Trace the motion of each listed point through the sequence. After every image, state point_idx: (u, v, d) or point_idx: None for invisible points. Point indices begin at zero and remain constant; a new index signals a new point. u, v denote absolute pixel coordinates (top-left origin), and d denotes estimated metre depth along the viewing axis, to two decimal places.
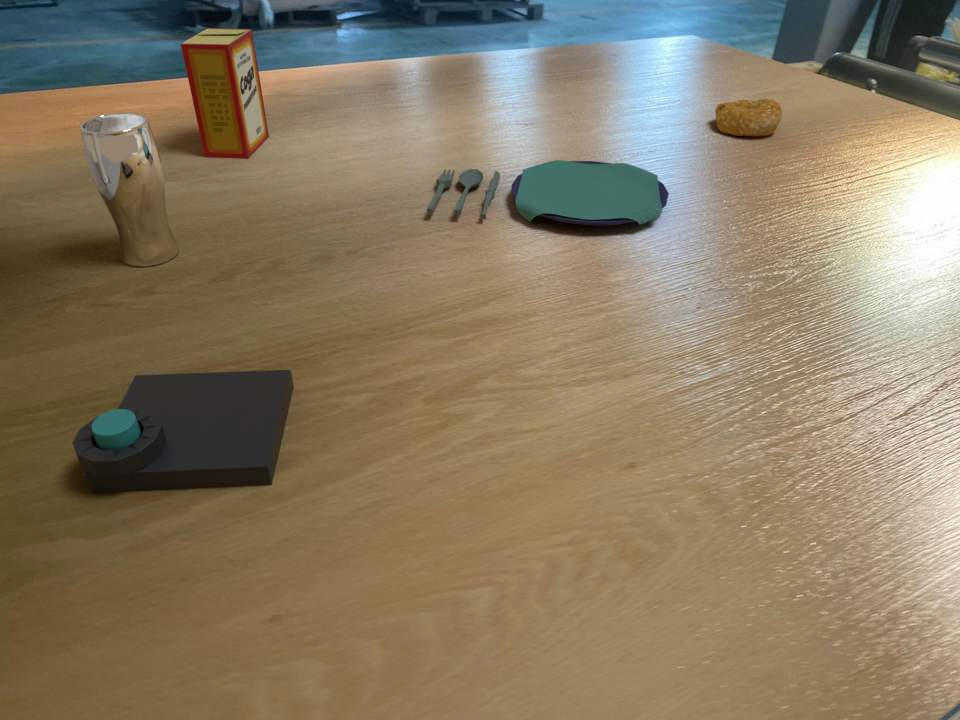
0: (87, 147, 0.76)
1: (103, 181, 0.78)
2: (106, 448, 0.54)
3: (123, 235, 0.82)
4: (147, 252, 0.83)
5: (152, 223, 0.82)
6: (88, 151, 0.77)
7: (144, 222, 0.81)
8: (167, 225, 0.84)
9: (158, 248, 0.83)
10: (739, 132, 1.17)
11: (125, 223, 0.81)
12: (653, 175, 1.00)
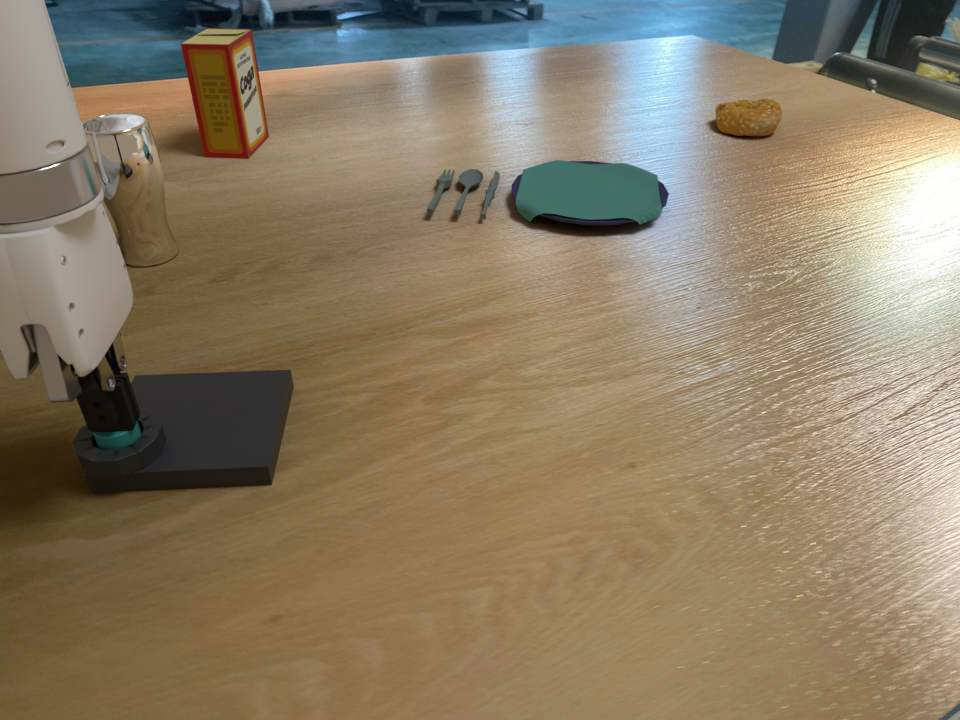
0: None
1: (103, 181, 0.78)
2: None
3: (123, 235, 0.82)
4: (147, 252, 0.83)
5: (152, 223, 0.82)
6: None
7: (144, 222, 0.81)
8: (167, 225, 0.84)
9: (158, 248, 0.83)
10: (739, 132, 1.17)
11: (125, 223, 0.81)
12: (653, 175, 1.00)
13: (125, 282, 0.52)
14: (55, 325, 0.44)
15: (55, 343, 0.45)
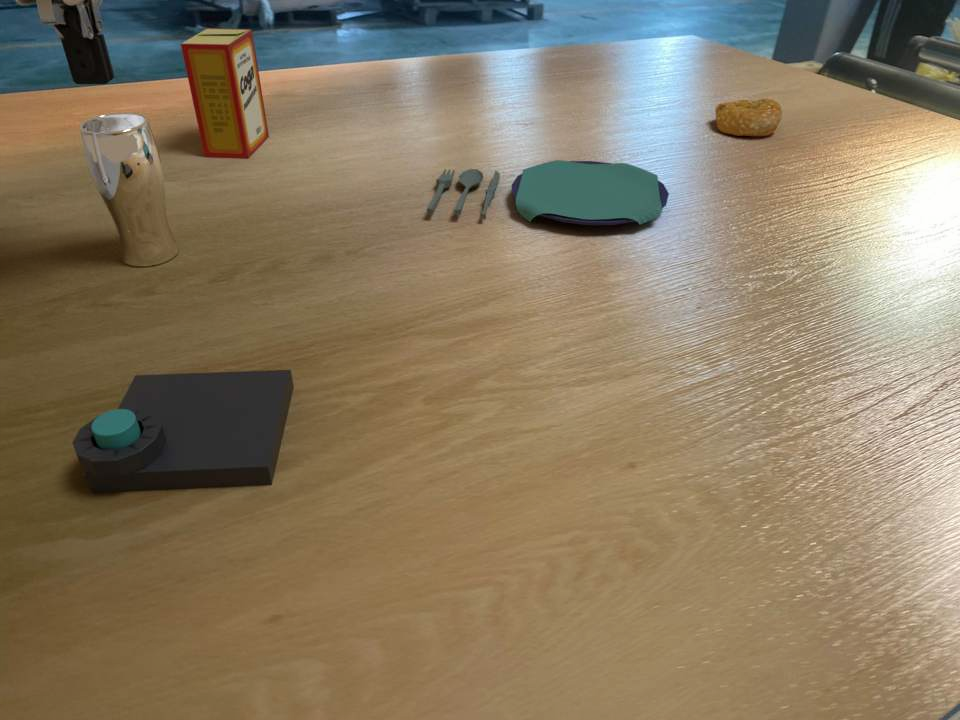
0: (87, 147, 0.76)
1: (103, 181, 0.78)
2: (106, 448, 0.54)
3: (123, 235, 0.82)
4: (147, 252, 0.83)
5: (152, 223, 0.82)
6: (88, 151, 0.76)
7: (144, 222, 0.81)
8: (167, 225, 0.84)
9: (158, 248, 0.83)
10: (739, 132, 1.17)
11: (125, 223, 0.81)
12: (653, 175, 1.00)
13: None
14: None
15: None
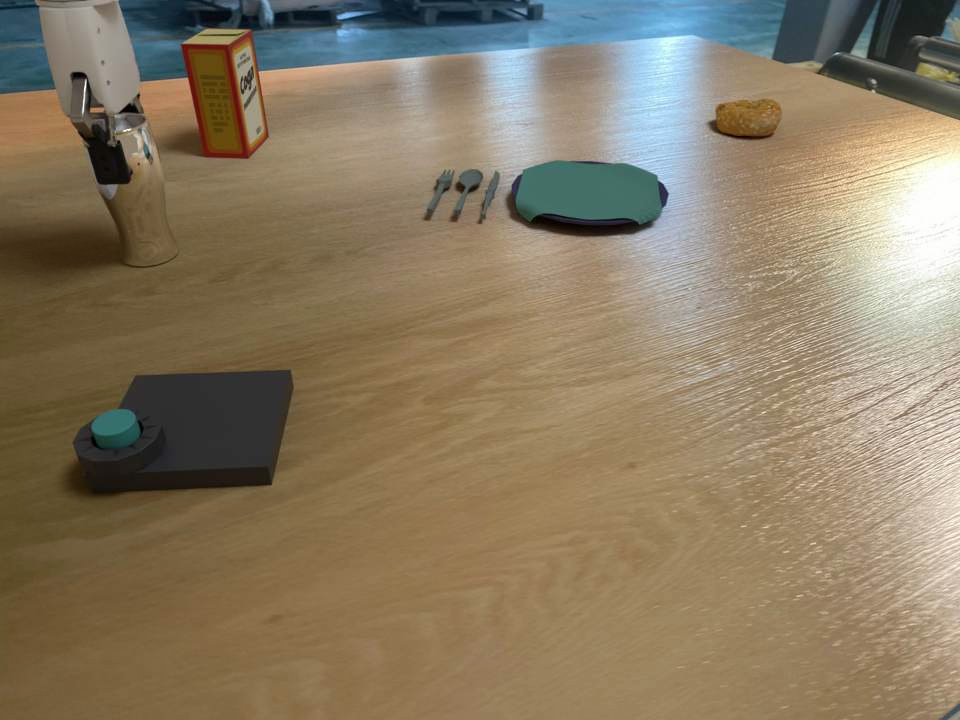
0: None
1: None
2: (106, 448, 0.54)
3: (123, 235, 0.82)
4: (147, 252, 0.83)
5: (152, 223, 0.82)
6: None
7: (144, 222, 0.81)
8: (167, 225, 0.84)
9: (158, 248, 0.83)
10: (739, 132, 1.17)
11: (125, 223, 0.81)
12: (653, 175, 1.00)
13: (135, 70, 0.78)
14: (92, 73, 0.70)
15: (92, 87, 0.71)
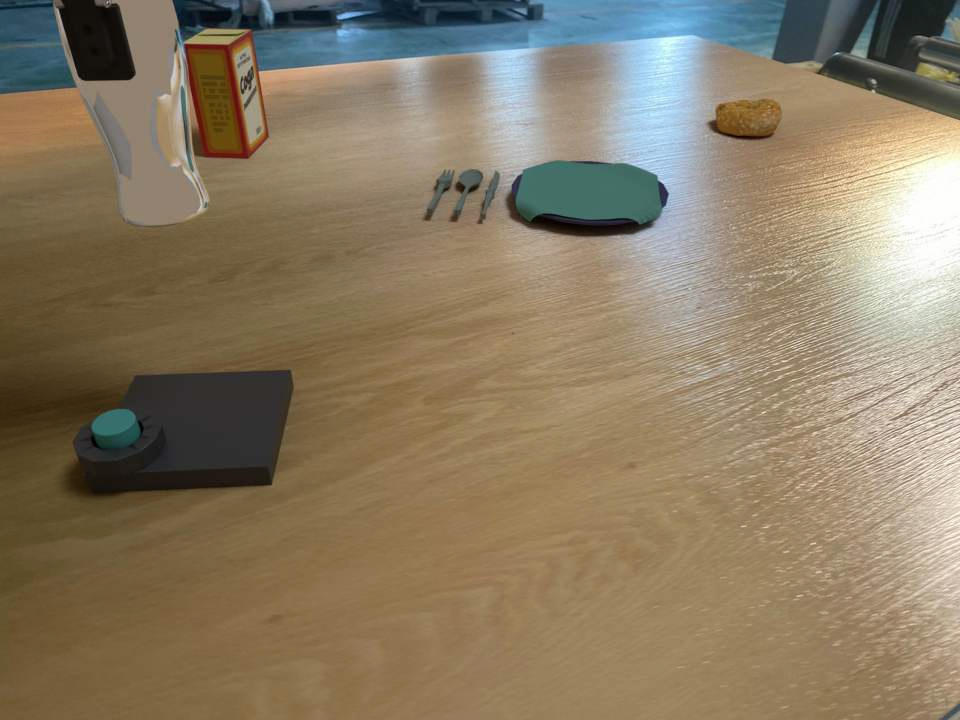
0: None
1: None
2: (106, 448, 0.54)
3: (123, 174, 0.50)
4: (162, 203, 0.51)
5: (171, 154, 0.50)
6: None
7: (158, 152, 0.49)
8: (194, 161, 0.52)
9: (180, 197, 0.51)
10: (739, 132, 1.17)
11: (126, 153, 0.49)
12: (653, 175, 1.00)
13: None
14: None
15: None
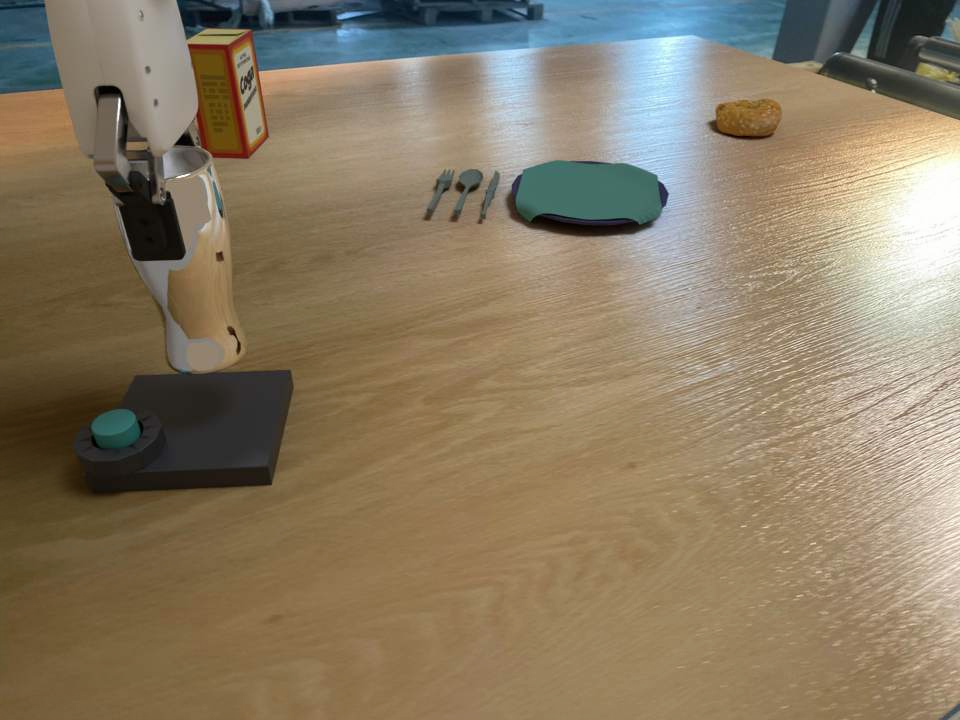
0: None
1: None
2: (106, 448, 0.54)
3: (170, 330, 0.54)
4: (205, 354, 0.55)
5: (215, 312, 0.54)
6: None
7: (203, 312, 0.53)
8: (234, 311, 0.56)
9: (222, 347, 0.55)
10: (739, 132, 1.17)
11: (174, 314, 0.53)
12: (653, 175, 1.00)
13: (192, 80, 0.50)
14: (131, 88, 0.42)
15: (130, 110, 0.42)
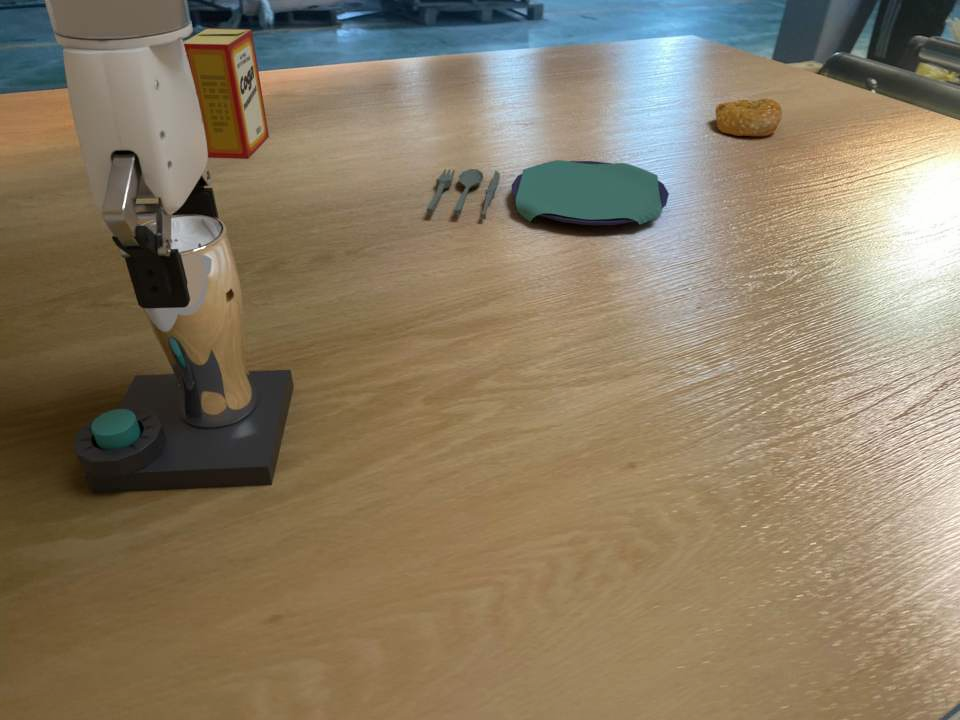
0: None
1: (160, 320, 0.53)
2: (106, 448, 0.54)
3: (184, 386, 0.57)
4: (218, 409, 0.58)
5: (227, 370, 0.57)
6: None
7: (216, 370, 0.56)
8: (245, 367, 0.59)
9: (233, 402, 0.58)
10: (739, 132, 1.17)
11: (189, 372, 0.56)
12: (653, 175, 1.00)
13: (202, 135, 0.52)
14: (146, 152, 0.44)
15: (145, 173, 0.45)
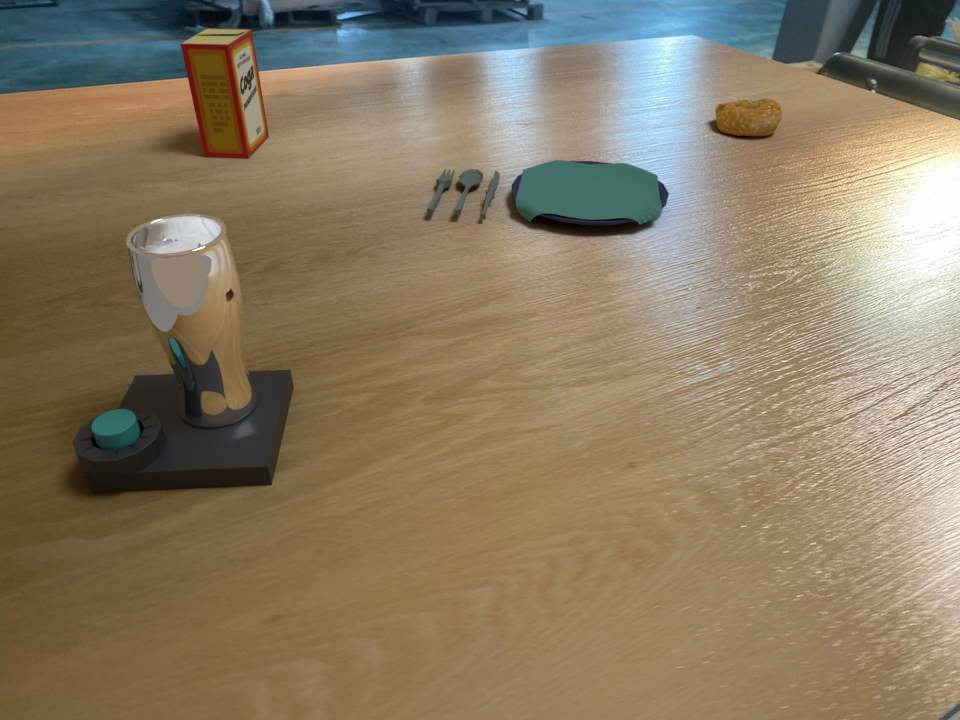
0: (138, 272, 0.51)
1: (160, 319, 0.53)
2: (106, 448, 0.54)
3: (184, 386, 0.57)
4: (218, 409, 0.58)
5: (227, 370, 0.57)
6: (139, 278, 0.51)
7: (216, 370, 0.56)
8: (245, 367, 0.59)
9: (233, 402, 0.58)
10: (739, 132, 1.17)
11: (189, 372, 0.56)
12: (653, 175, 1.00)
13: None
14: None
15: None
